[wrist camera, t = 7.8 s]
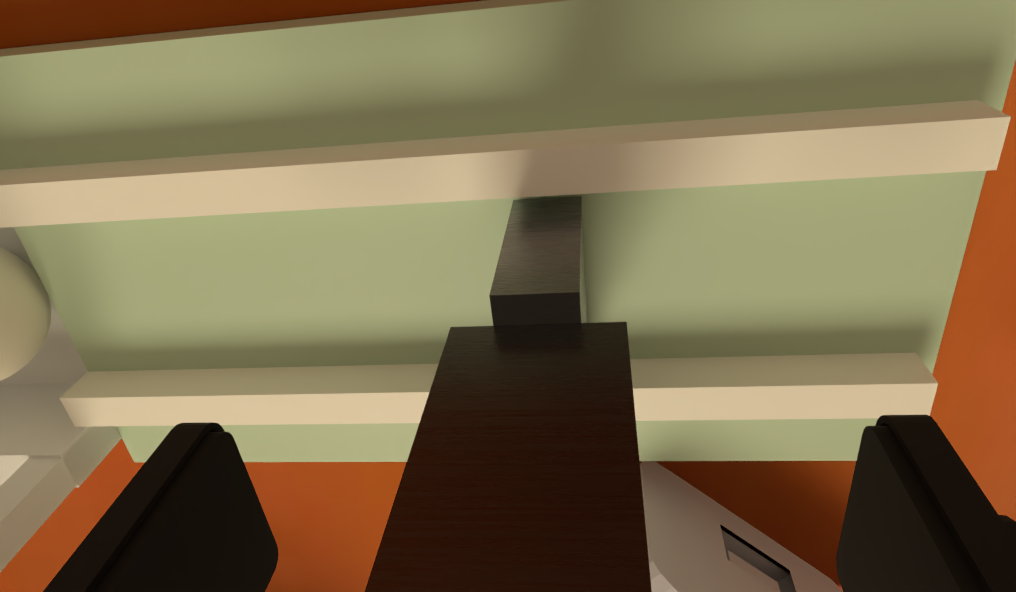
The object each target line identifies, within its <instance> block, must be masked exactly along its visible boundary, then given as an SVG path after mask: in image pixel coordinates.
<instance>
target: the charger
mask: <svg viewBox="0 0 1016 592" xmlns="http://www.w3.org/2000/svg"><path fill="white" fill-rule="evenodd" d="M640 472H641V482H642V493H643V504H644V515H645V525H646V536H647V547H648V558H649V568H650V579H651V590H652V592H795V590H796V592H842V591H841V589H840V588H839V587H838V586H837V585H836V583H835V582H834V581H833V580H832V579H830V578H829V577H827V576H826V575H824V574H823V573H821V572H820V571H818V570H817V569H816V568H814V567H813V566H811V565H810V564H808V563H807V562H805V561H804V560H802V559H801V558H799V557H798V556H796V555H795V554H793V553H792V552H790V551H789V550H787V549H786V548H784V547H783V546H781V545H780V544H778V543H777V542H775V541H774V540H772V539H771V538H769V537H768V536H766V535H765V534H763V533H762V532H760V531H759V530H757V529H756V528H755V527H753V526H752V525H750V524H749V523H747V522H746V521H744V520H743V519H741V518H740V517H738V516H737V515H735V514H734V513H732V512H731V511H729V510H728V509H726V508H725V507H723V506H722V505H720V504H719V503H717V502H716V501H714V500H713V499H711V498H710V497H708V496H707V495H705V494H704V493H702V492H701V491H699V490H698V489H696V488H695V487H693V486H692V485H690V484H689V483H687V482H686V481H684V480H683V479H681V478H680V477H678V476H677V475H675V474H674V473H672V472H671V471H669V470H668V469H666V468H665V467H663V466H662V465H660V464H659V463H657V462H656V461H643V462H642V463H640ZM720 524H721V525H722V526H724V527H725V528H727V529H728V530H730V531H731V532H733V533H734V534H736V535H737V536H739V537H740V538H742V539H744V540H745V541H747V542H748V543H750V544H751V545H753V546H754V547H756V548H757V549H759V550H760V551H762V552H763V553H765V554H766V555H768V556H769V557H771V558H772V559H774V560H775V561H777V562H778V563H780V564H781V565H783V566H784V567H786V568H787V569H789V570H790V573H791V576H790V574H788V573H787V572H785V571H784V570H782V569H781V568H779V567H778V566H776V565H775V564H773V563H772V562H770V561H769V560H767V559H766V558H764V557H763V556H761V555H759V554H758V553H756V552H755V551H753V550H752V549H750V548H749V547H747V546H746V545H744V544H743V543H741V542H740V541H738V540H737V539H735V538H734V537H732V536H731V535H729V534H728V533H726V532H725V531H723V530H721V526H720ZM791 577H792V579H791ZM792 580H793V583H794V586H793V583H792ZM794 587H795V589H794Z"/></svg>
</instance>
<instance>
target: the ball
mask: <svg viewBox="0 0 1016 592" xmlns="http://www.w3.org/2000/svg"><path fill="white" fill-rule="evenodd" d="M50 324H51V305H50V299H49V295H48V293H47V291H46V289H45V287H44V285H43V283H42V281H41V279H40V277H39V276H38V275H37V273H36V272H35V271H34V270H33V269H32V268H31V267H30V266H29V265H28V264H27V263H26V262H25V261H23V260H22V259H21V258H19V257H18V256H17V255H15V254H13V253H11V252H10V251H8V250H6V249H4V248H2V247H0V381H2V380H4V379H6V378H8V377H10V376H11V375H13V374H14V373H16V372H17V371H19V370H20V369H22V368H23V367H24V366H25V365H26V364H27V363H28V362H29V361H31V360H32V359H33V357H34V356H35V355H36V354H37V352H38V351H39V350H40V348H41V347H42V345H43V343H44V341H45V339H46V337H47V334H48V331H49V328H50Z"/></svg>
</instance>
